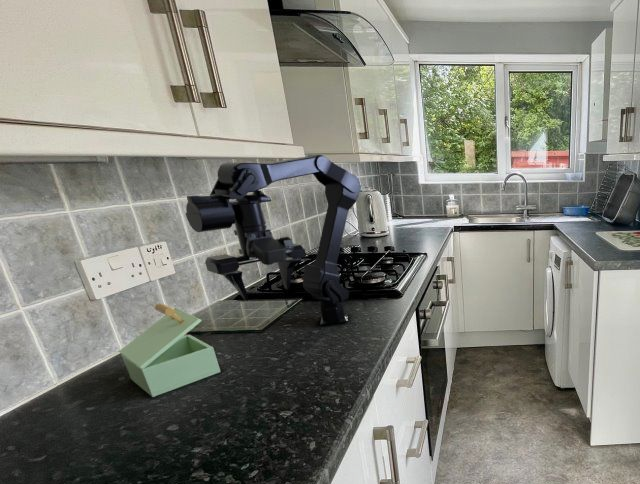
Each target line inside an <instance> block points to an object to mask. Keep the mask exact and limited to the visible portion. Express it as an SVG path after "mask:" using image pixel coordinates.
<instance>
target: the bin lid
mask: <svg viewBox="0 0 640 484" xmlns="http://www.w3.org/2000/svg"><path fill="white" fill-rule="evenodd" d="M154 310H156V311H158V312H159V313H161V314H163V315H164V316H162V317H161V318H160V319H158V320H157V321H156V322H154V323H153V324H152V325H151V326H149V327H148V328H147V329H146V330H144V331H143V332H142V333H141V334H140V335H138V336H136V337H135V338H134V339H133V340H131V341H130V342H129V343H127V344H126V345H125V346H123V347H122V348H121V349H120V350H118V353H120V355H121V354H123V355H124V356H125V357H127V358H128V359H129V360H131V361H132V362H133V363H135V364H136V365H137V366H139V367H140V368H141V369H144V368H145V367H146V366H147V365H149V364H150V363H151V362H152V361H154V360H155V359H156V358H157V357H158V356H160V355H161V354H162V353H163V352H165V351H166V350H167V349H168V348H169V347H171V346H172V345H173V344H174V343H175V342H177V341H178V340H179V339H180V338H182V337H183V336H184V335H185V334H186V333H187V334H188V333H189V332H190V331H191V330H193V329H194V328H195V327H196V326H197V325H199V324H200V323H201V322H202V319H200V318H199V317H196V316H194V315H192V314H190V313H188V312H186V311H184V310H182V309H180V308H178V307H173V308H172V307H171V306H169V305H166V304H165V303H162V302H158V303H156V304H155V306H154Z"/></svg>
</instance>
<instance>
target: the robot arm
mask: <svg viewBox="0 0 640 484" xmlns="http://www.w3.org/2000/svg"><path fill="white" fill-rule="evenodd" d="M308 175H313V176H314V177H315V179H316V181H318V183H320V184H321V185H322V186H323V187H324V195H325V199H326V202H327V209H326V213H325V217H324V222H323V227H322V231H321V235H320V240H319V244H318V248H317V253H316V257H315V260H314V261H313V262H312V263H311V264H305V265H304V267H303V274H302V277H301V278H300V280H301V281H302V287H303V289H304V290H305V292H307V293H308V294H309V295H310V296H311V298H312V299H314V300H318V303H319V308H320V313H321V317H320V318H321V319H320V323H319V324H320V326H330V325H331V326H332V325H338V324H339V325H340V324H345V323H346V324H347V323H348V313H347V312H345V306H344V302H345V301H347V300H348V299H349V295H350V290H348V289H347V288H346V287H344V286H343V285H341V284H340V273H339V269H338V265H337V264H338V259H339V254H340V250H341V247H342V242H343V237H344V233H345V229H346V223H347V219H348V214H349V211H350V209H351V208H352V207H353V206H354V205H355V204H356V203H357V201H358V199H359V196H360V194H361V191H362V183H361V182H360V179H359V177H357V176H356V175H355V174H354V173H350V172H349V171H348V170H347V169H345V168H343V167H342V166H339V165H338V164H336V163H334V162H333V161H331V160H330V159H329V158H327V157H326V156H324V155H322V154H308V155H306V156H302V157H295V158H289V159H282V160H276V161H270V162H263V163H262V162H224V163H222V164H220V165H219V168H218V170H217V180H216V182H215V183H214V186H213V188H212V189H211V192H210V193H209V195H207V194H206V195H187V196H186V199H187V203H186V206H185V210H186V212H185V217H186V219H187V222H188V225H189V226H190V227H191V229H192V230H193V231H195V232H196V233H204V232H211V231H217V230H218V231H219V230H227V229H231V228H232V227H233V225H234V227H235V229H234V230H233V233H234V236H237V239H238V242H239V243H238V244H239V246H240V248H238V252H239V255H238V256H233V255H231V254H226V253H224V254H219V255H212V256H207V257H206V259H205V262H204V264H205V268H206V270H207V271H208V272H211V273H213V274H217V275H219V276H223V277H224V278H225V279H226V280H227V281H228V282H229V283H230V284H231V285H232V286H233V288H234V289H235V290H236V291H237V293H238V294H239V295H240V296H241V297H242V299H243V300H244V301H249V295H248V291H247V289H246V286H245V283H244V281H243V271H240V270H239V268H240V266H244V265H249V264H254V263H259V262H261V264H263V265H265V266H271V265H273V264H277V265H278V271H279V274H280V277H281V280H282V284H283V286H284V289H285V290H290V287H291V283H292V277H293V271H294V268H295V266H296V265H297V264H298V263H300V262H302V259H303V258H306V257H307V253H306V249H305V247H304V246H303V245H302V244H298V243H293V240H292V238H291V237H289V236H284V237H279V238H274V235H273V233H272V231H271V228H270V229H269V228H268V226H267V221H266V217H265V213H264V208H263V204H262V203H268V202H272V198H271V197H269V196H268V195H266V194H265V193H264V192H263V191H262V189H265V188H267V187H269V186H270V185H271V184H273V183H275V182H277V181H278V182H279V181H283V180H288V179H293V178H298V177H299V178H300V177H303V176H308Z"/></svg>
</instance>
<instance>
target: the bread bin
mask: <svg viewBox="0 0 640 484" xmlns="http://www.w3.org/2000/svg"><path fill="white" fill-rule="evenodd" d="M120 356H121V357H122V360H123V362H124V365H125V367H126V370H127V373H128V375H129V377H130V380H131V381H132V382H133V383H135V384H136V385H137V386H138V387H140V388H141V389H142V390H143V391H145V392H146V393H147V395H149V396H150V397H152V398H154V397H157V396H160V395H162V394H165V393H168V392H170V391H173V390H176V389H179V388H182V387H184V386H187V385H189V384H192V383H195V382H197V381H201V380H203V379H206V378H209V377H211V376H213V375H216V374H219V373H221V368H220V366H219V362H218V359H217V355H216V352H215V349H214V347H213V346H211V345H210V344H208V343H206V342H204V341H203V340H200V339H198V338H197V337H195V336H193V335H191V334H187V335H186V336H183V337H182V338H180V339H179V340H178V341H177V342H175V343H174V344H173V345H172V346H171V347H169V348H168V349H167V350H166V351H165V352H163V353H162V354H161V355H160V356H158V357H157V358H156V359H155V360H154V361H152V362H151V363H150V364H149V365H147V366H146V367H145V368H144V369H141V368H140V367H139V366H137V365H136V364H135V363H133V362H132V361H131V360H129V359H128V358H127V357H125V356H124V355H123V354H121V353H120Z"/></svg>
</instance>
